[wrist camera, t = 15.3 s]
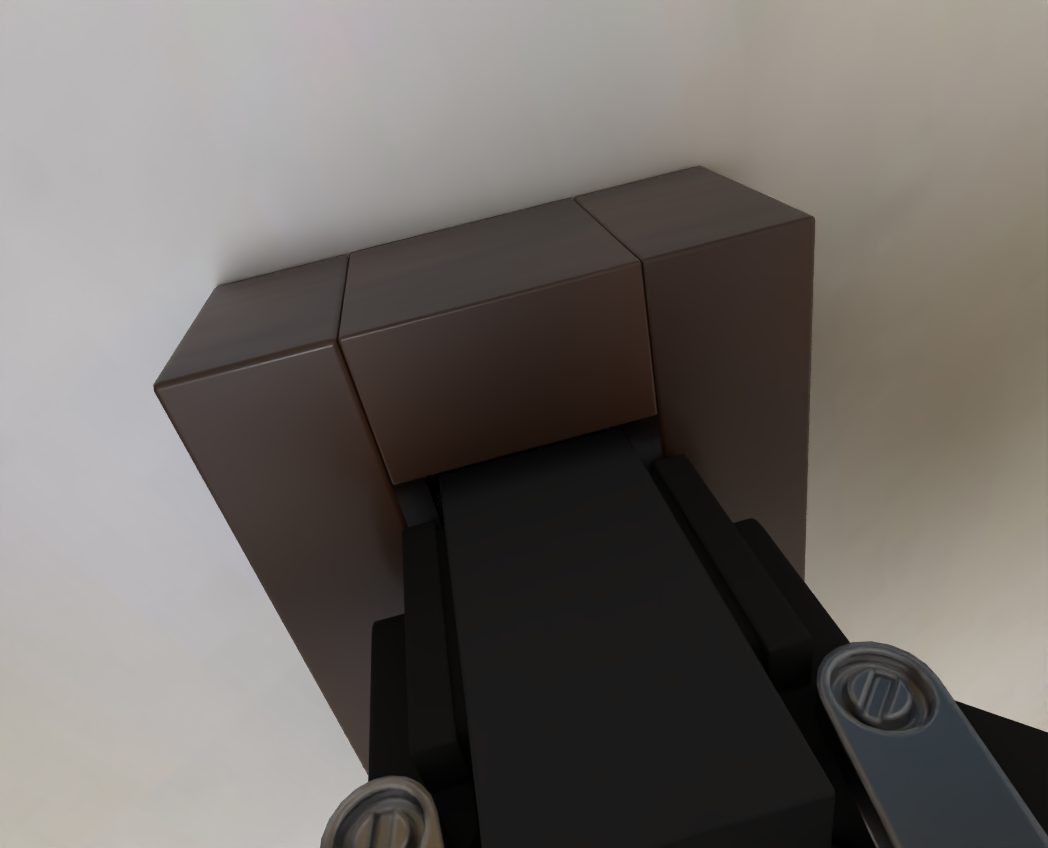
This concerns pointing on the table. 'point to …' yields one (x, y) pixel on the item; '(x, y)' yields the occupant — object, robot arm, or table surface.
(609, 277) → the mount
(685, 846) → the black rectangular block
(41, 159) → the table surface
